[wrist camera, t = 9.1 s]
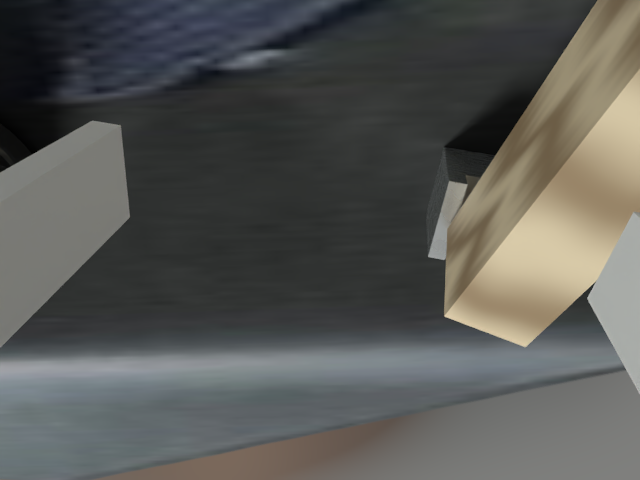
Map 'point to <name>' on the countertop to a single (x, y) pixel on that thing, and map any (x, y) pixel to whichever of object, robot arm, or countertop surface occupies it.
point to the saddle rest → (451, 193)
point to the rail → (554, 187)
